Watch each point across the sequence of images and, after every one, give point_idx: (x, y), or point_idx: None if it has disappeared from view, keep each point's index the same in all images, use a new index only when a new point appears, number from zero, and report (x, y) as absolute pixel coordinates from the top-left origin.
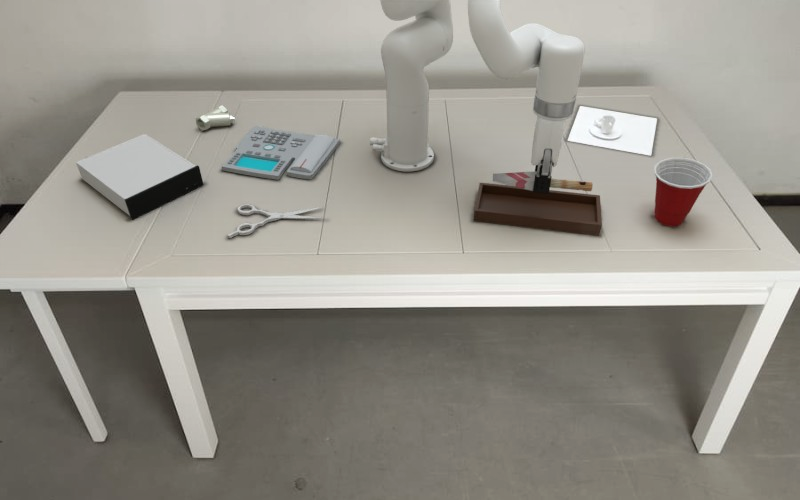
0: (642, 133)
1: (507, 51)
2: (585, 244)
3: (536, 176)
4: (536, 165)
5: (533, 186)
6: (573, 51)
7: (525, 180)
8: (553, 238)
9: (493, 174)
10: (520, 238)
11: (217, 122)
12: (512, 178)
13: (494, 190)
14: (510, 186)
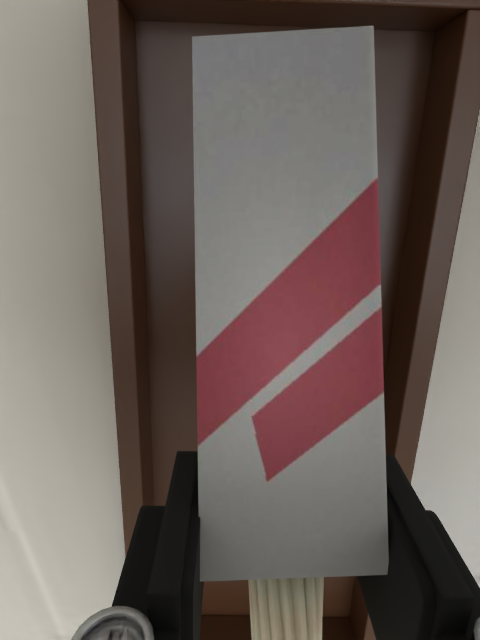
0: None
1: None
2: (74, 564)
3: (114, 614)
4: (419, 586)
5: (182, 478)
6: None
7: (214, 429)
8: (77, 451)
9: (354, 36)
10: (28, 304)
11: None
12: (255, 289)
13: (432, 123)
14: (445, 240)
